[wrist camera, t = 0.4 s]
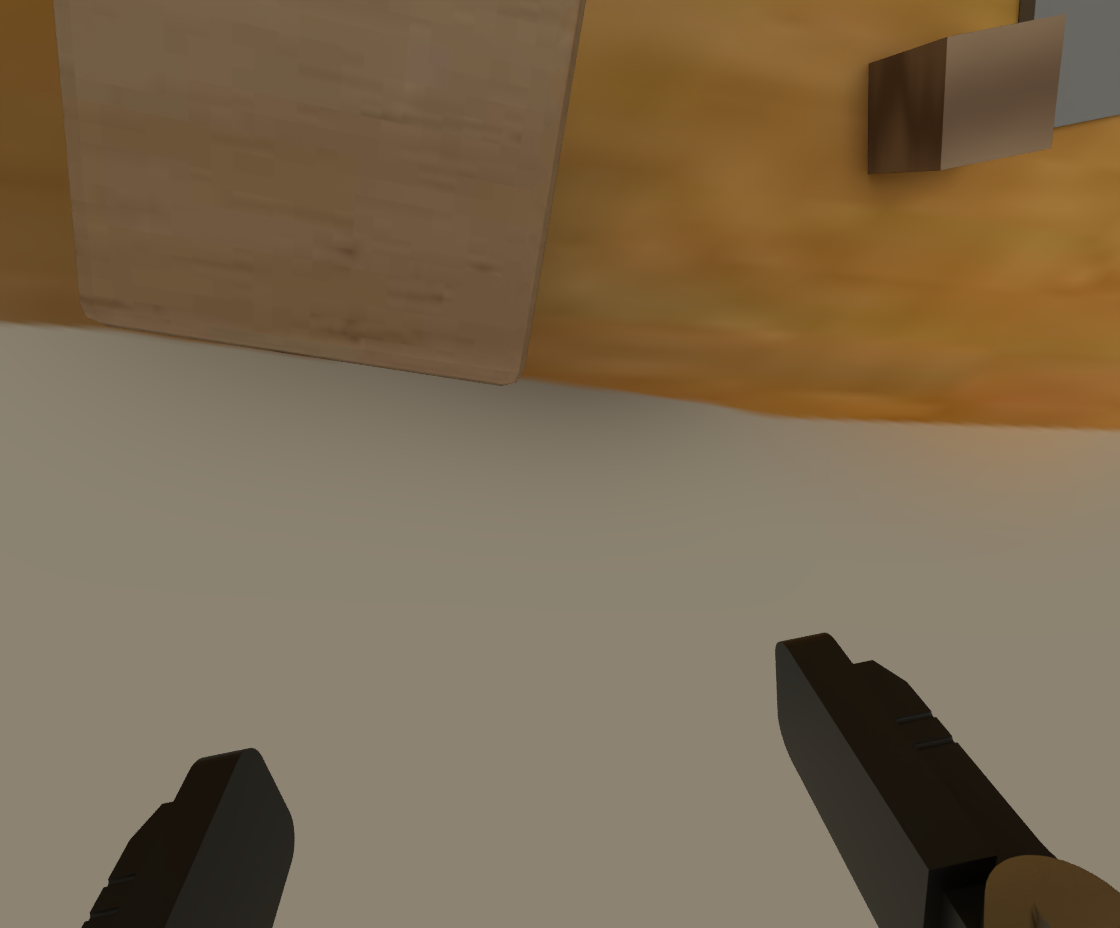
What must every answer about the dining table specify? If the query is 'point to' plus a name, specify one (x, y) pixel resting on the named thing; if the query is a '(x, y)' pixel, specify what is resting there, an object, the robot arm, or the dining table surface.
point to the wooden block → (319, 172)
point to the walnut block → (965, 98)
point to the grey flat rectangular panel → (1084, 57)
